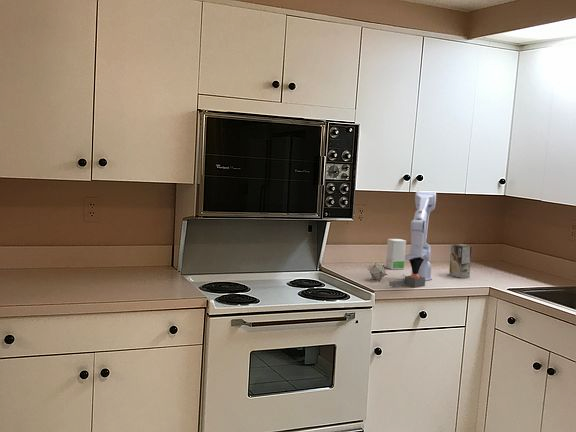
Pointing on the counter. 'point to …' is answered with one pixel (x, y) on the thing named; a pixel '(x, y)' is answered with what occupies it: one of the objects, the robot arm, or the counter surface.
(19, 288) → the counter surface
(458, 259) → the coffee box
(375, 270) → the game die
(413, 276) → the dome
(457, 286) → the counter surface
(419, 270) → the robot arm
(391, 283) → the bar
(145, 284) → the counter surface
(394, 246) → the skincare box
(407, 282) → the dome housing
